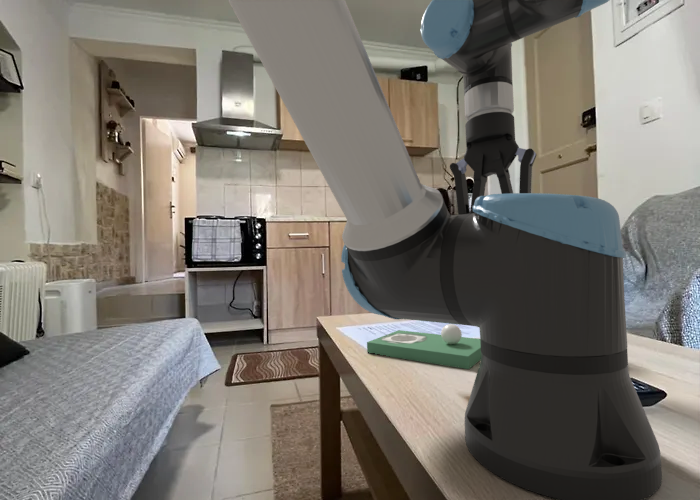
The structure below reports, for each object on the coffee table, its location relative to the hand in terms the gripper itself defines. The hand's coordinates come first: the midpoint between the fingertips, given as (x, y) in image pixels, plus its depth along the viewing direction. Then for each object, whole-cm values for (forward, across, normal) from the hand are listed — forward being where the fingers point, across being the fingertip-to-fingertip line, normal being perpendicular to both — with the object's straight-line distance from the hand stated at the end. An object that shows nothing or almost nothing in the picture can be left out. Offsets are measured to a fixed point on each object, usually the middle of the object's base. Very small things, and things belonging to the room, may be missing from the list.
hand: (495, 260), depth 59 cm
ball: (+13, +8, 0) cm, 15 cm away
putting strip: (+17, +12, 0) cm, 21 cm away
